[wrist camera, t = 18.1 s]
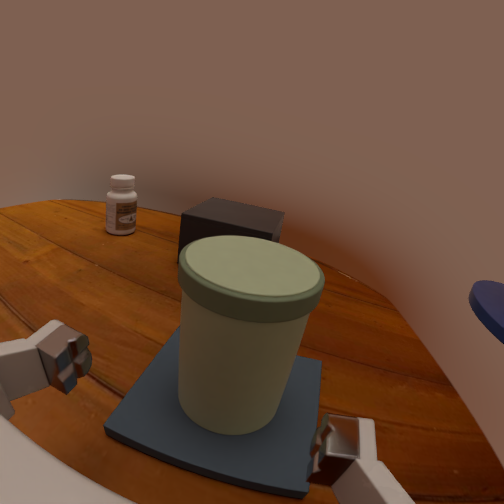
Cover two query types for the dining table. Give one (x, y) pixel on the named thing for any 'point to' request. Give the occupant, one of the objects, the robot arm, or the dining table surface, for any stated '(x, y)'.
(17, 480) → the robot arm
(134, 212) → the pill bottle
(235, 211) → the dark grey square box
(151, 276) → the dining table surface
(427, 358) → the dining table surface
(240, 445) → the mat
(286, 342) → the lidded cream canister
